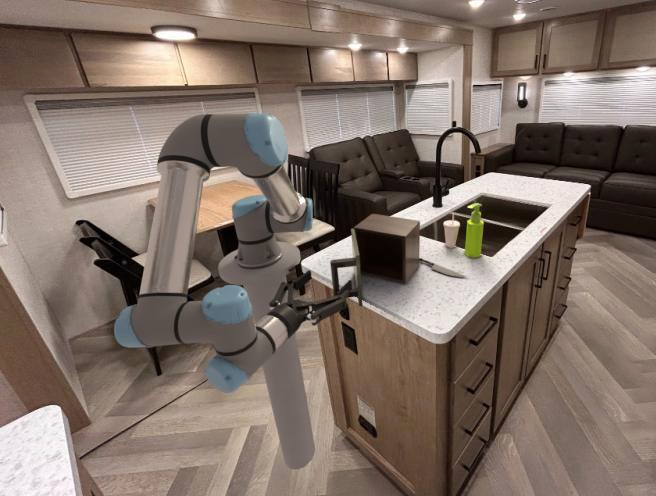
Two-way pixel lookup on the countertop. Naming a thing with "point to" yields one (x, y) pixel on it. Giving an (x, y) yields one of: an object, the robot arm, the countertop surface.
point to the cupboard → (388, 247)
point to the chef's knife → (442, 269)
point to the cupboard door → (348, 263)
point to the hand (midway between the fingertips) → (330, 279)
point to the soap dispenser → (474, 233)
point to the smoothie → (451, 232)
